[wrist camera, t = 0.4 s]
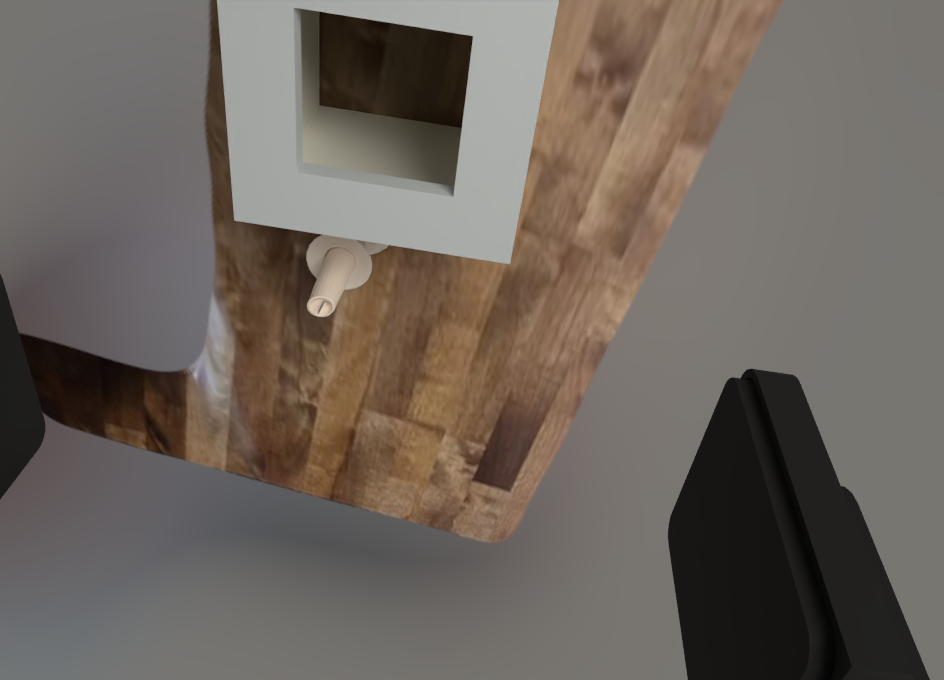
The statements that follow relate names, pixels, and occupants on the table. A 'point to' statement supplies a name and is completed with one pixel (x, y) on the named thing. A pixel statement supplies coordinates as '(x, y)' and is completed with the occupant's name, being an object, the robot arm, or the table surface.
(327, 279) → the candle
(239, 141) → the drop box
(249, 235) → the table surface
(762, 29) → the table surface
